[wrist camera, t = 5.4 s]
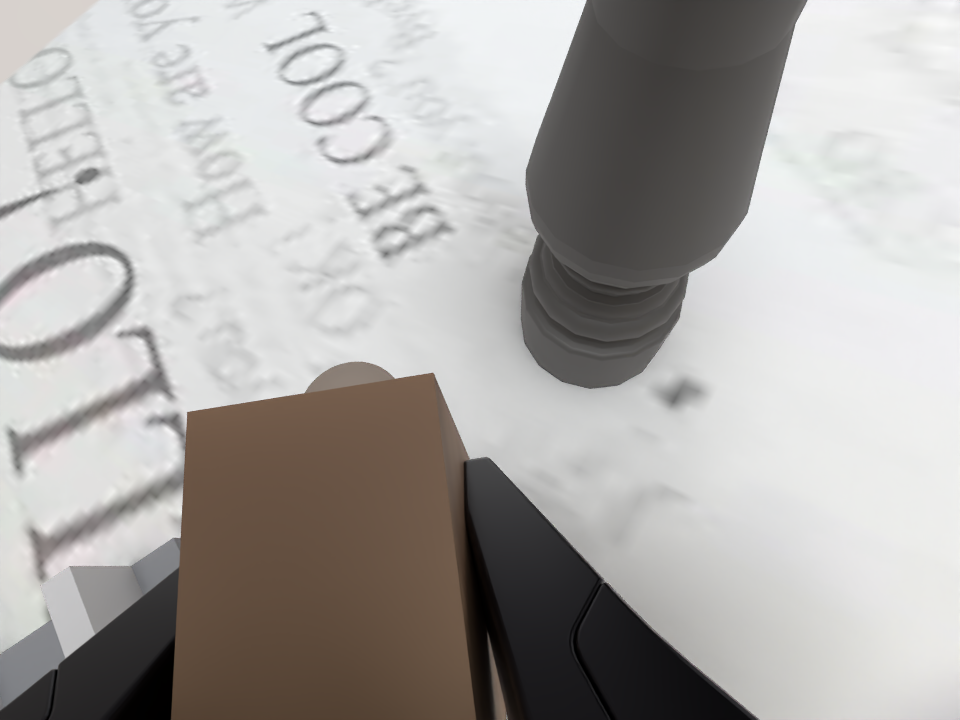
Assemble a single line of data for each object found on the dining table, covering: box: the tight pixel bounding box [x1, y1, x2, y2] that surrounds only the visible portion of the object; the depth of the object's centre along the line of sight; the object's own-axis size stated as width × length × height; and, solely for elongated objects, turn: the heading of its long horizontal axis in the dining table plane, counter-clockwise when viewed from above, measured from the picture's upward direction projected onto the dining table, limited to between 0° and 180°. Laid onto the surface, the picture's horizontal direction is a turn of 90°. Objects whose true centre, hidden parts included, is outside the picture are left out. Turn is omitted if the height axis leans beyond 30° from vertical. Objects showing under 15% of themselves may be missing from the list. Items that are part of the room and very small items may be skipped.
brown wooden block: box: [171, 362, 506, 720], centre depth 10 cm, size 5×2×10 cm, turn 8°
